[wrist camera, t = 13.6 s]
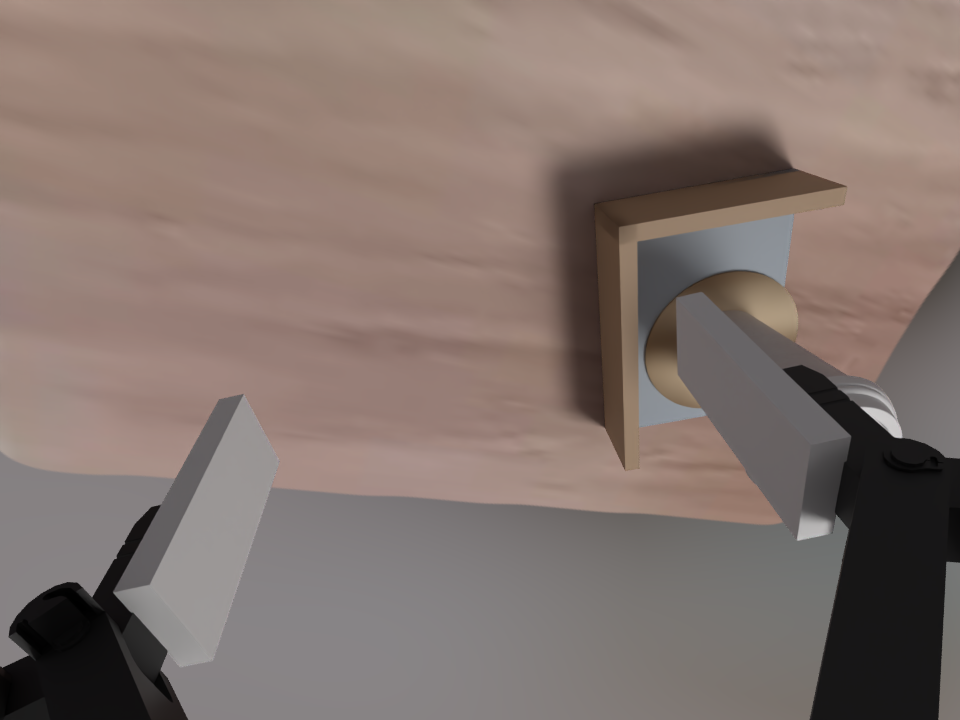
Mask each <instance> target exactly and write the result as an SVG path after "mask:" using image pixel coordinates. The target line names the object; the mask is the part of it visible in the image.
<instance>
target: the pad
mask: <svg viewBox="0 0 960 720" xmlns="http://www.w3.org/2000/svg"><path fill="white" fill-rule="evenodd" d="M699 292H703V293H704V294H705V295H706V296H707V297H708V298H709V299H710V300H711V301H712V302H713V303H714V304H715V305H716V306H717V307H718V308H719V309H720V310H721V311H727V310H739V311H743V312H746V313H748V314H750V315H752V316H753V317H755V318H757V319H758V320H760V321H761V322H763V323H764V324H766V325H768V326H769V327H771V328H772V329H774V330H776V331H777V332H779V333H780V334H782V335H784V336H785V337H787V338H788V339H790V340H791V341H793V342H795V341H796V336H797V332H798V313H797V309H796V305H795V303H794V301H793V299H792V297H791V295H790V294H789V292H788V291H787V290H786V289H785V288H784V287H783V286H782V285H781V284H779V283H778V282H776V281H775V280H774V279H772V278H770V277H768V276H766V275H763V274H759V273H756V272H749V271H731V272H724V273H720V274H716V275H713V276H710V277H707V278H704V279H702V280H700V281H698V282H696V283H694V284H693V285H691V286H689V287H688V288H686V289H685V290H683V291H682V292H681V293H680V294H678V295H677V296H676V297H681V296H685V295H690V294H694V293H699ZM676 297H675V298H674V299H673V300H672V301H671V302H670V303H668V305H667V306H666V307H665V308H664V309H663V311H662V312H661V313H660V315H659V316H658V318H657V319H656V321H655V322H654V324H653V326H652V328H651V331H650V333H649V336H648V339H647V343H646V348H645V365H646V369H647V373H648V375H649V378H650V380H651V382H652V383H653V385H654V386H655V388H656V389H657V390H658V391H659V392H660V393H661V394H662V395H663V396H664V397H666V398H667V399H668V400H670V401H672V402H674V403H676V404H679V405H681V406H686V407H690V408H701V406H700V405H699V404H698V402H697V401H696V400H695V398H694V397H693V395H692V394H691V393H690V391H689V390H688V388H687V387H686V386H685V384H684V383H683V381H682V380H681V379H680V377H679V376H678V369H677V321H676Z"/></svg>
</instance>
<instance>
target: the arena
mask: <svg viewBox="0 0 960 720" xmlns="http://www.w3.org/2000/svg"><path fill="white" fill-rule="evenodd" d="M846 192H847V186H844V185H841V184H839V183H836V182H833V181H830V180H827V179H824V178H821V177H818V176H815V175H812V174H809V173H806V172H803V171H800V170H797V169H794V168H793V169H788V170H782V171H776V172H771V173H765V174H759V175H754V176H748V177H743V178H737V179H731V180H726V181H720V182H714V183H709V184H703V185H698V186H692V187H686V188H681V189H675V190H669V191H664V192H658V193H653V194H647V195H641V196H636V197H630V198H624V199H619V200H613V201H608V202H602V203H596V204H594V210H595V230H596V251H597V272H598V292H599V313H600V334H601V354H602V375H603V396H604V416H605V429H606V431H607V433H608V435H609V437H610V440H611V442H612V444H613V446H614V448H615V450H616V452H617V454H618V457H619V459H620V461H621V463H622V465H623V467H624V469H625V471H628V470H634V469H639V427H645V426H651V425H656V424H662V423H668V422H673V421H679V420H684V419H690V418H696V417H701V416H707V415H706V413H705V412H704V411H703V409H702V408H690V407H686V406H681V405H679V404H676V403H674V402H672V401H670V400H668V399H667V398H666V397H664V396H663V395H662V394H661V393H660V392H659V391H658V390H657V389H656V388H655V386H654V385H653V383H652V382H651V380H650V378H649V375H648V373H647V369H646V365H645V348H646V343H647V339H648V336H649V333H650V331H651V328H652V326H653V324H654V322H655V321H656V319H657V318H658V316H659V315H660V313H661V312H662V311H663V309H664V308H665V307H666V306H667V305H668V303H670V302H671V301H672V300H673V299H674V298H675V297H676V296H677V295H678V294H680V293H681V292H682V291H683V290H685V289H686V288H688V287H689V286H691V285H693V284H694V283H696V282H698V281H700V280H702V279H704V278H707V277H710V276H713V275H716V274H720V273H724V272H731V271H749V272H756V273H759V274H763V275H766V276H768V277H770V278H772V279H774V280H775V281H776V282H778V283H779V284H781V285H782V286H783V287H784V286H785V279H786V271H787V264H788V257H789V249H790V242H791V234H792V227H793V220H794V214H796V213H801V212H807V211H813V210H818V209H824V208H830V207H835V206H841V205H844V203H845V197H846Z"/></svg>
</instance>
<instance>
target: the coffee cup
mask: <svg viewBox="0 0 960 720" xmlns="http://www.w3.org/2000/svg"><path fill="white" fill-rule="evenodd" d="M722 312H723V313H724V314H725V315H727V316H728V317H729V318H730V319H731V320H732V321H733V322H734V323H735V324H736V325H737V326H738V327H739V328H740V329H741V330H742V331H743V332H744V333H745V334H746V335H747V336H748V337H749V338H750V339H751V340H752V341H753V342H754V343H755V344H756V345H757V346H759V347H760V348H761V349H762V350H763V351H764V352H765V353H766V354H767V355H768V356H769V357H770V358H771V359H772V360H773V361H774V362H775V363H776V364H777V365H778V366H779V367H780V368H781V369H784V368H789V367H794V366H798V365H803V366H806V367H808V368H810V369H812V370H815V371H817V372H819V373H821V374H823V375H824V376H825V377H827V378H828V379H829V380H830V381H831V382H832V383H833V384H835V385H836V386H837V387H838V390H841V391H842V392H844V393H845V394H846V395H847V396H848V397H849V399H850V401H852V400H853V401H854V402H855V403H856V404H857V405H858V406H860V407H861V408H862V409H863V410H864V411H865V412H866V413H867V414H869V415H870V416H871V417H872V418H873V419H874V420H875V421H877V422H878V423H879V424H880V425H881V426H882V427H883V428H884V429H886V430H887V431H888V432H889V433H890V434H891V435H892V436H894V437H895V438H902V431H901V428H900V425H899V423H898V421H897V415H896V412H895V409H894V407H893V404H892V402H891V401H890V399H889V398H888V396H887V395H886V393H885V392H884V391H883V390H882V389H881V388H880V387H879V386H878V385H877V384H875V383H873V382H872V381H869V380H867V379H864V378H861V377H856V376H848V375H846V374H844V373H843V372H841V371H839V370H838V369H836V368H835V367H833V366H831V365H830V364H828V363H827V362H825V361H823V360H822V359H820V358H819V357H817V356H815V355H814V354H812V353H811V352H809V351H807V350H806V349H804V348H803V347H801V346H799V345H798V344H796V343H795V342H793V341H791V340H790V339H788V338H787V337H785V336H784V335H782V334H780V333H779V332H777V331H776V330H774V329H772V328H771V327H769V326H768V325H766V324H764V323H763V322H761V321H760V320H758V319H757V318H755V317H753V316H752V315H750V314H748V313H746V312H743V311H739V310H727V311H722ZM745 470H746V469H745ZM746 473H747V475H748V476H749V478H750V479H751V480H752V481H753V482H754V480H753V479H752V477H751V476H750V475H749V473H748V472H747V471H746ZM754 483H755V482H754ZM755 484H756V483H755ZM756 485H757V484H756Z"/></svg>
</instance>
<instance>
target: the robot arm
mask: <svg viewBox="0 0 960 720" xmlns="http://www.w3.org/2000/svg"><path fill="white" fill-rule="evenodd" d="M676 321H677V369H678V376H679V377H680V379H681V380H682V381H683V383H684V384H685V386H686V387H687V388H688V390H689V391H690V393H691V394H692V395H693V397H694V398H695V400H696V401H697V402H698V404H699V405H700V406H701V408H702V409H703V411H704V412H705V413H706V415H707V416H708V418H709V419H710V420H711V422H712V423H713V425H714V426H715V427H716V429H717V430H718V432H719V433H720V434H721V436H722V437H723V439H724V440H725V441H726V443H727V444H728V445H729V447H730V448H731V450H732V451H733V452H734V454H735V455H736V457H737V458H738V459H739V461H740V462H741V464H742V465H743V466H744V468H745V469H746V471H747V472H748V473H749V475H750V476H751V477H752V479H753V480H754V482H755V483H756V484H757V486H758V487H759V489H760V490H761V491H762V493H763V494H764V496H765V497H766V498H767V500H768V501H769V503H770V504H771V505H772V507H773V508H774V509H775V511H776V512H777V514H778V515H779V516H780V518H781V519H782V521H783V522H784V523H785V525H786V526H787V528H788V529H789V530H790V532H791V533H792V535H793V536H794V537H795V539H796V540H797V541H798V540H803V539H808V538H813V537H818V536H822V535H827V534H832V533H833V528H834V523H835V518H836V514H837V516H838V517H839V518H840V519H841V520H842V521H843V523H844V524H845V525H846V526H847V527H848V528H849V532H848V537H847V541H846V546H845V550H844V555H843V559H842V565H841V571H840V575H839V580H838V585H837V590H836V595H835V600H834V604H833V609H832V614H831V619H830V624H829V628H828V633H827V638H826V643H825V648H824V653H823V658H822V662H821V667H820V672H819V677H818V682H817V687H816V692H815V697H814V701H813V706H812V711H811V716H810V720H938V713H939V695H940V675H941V656H942V636H943V617H944V616H943V615H944V597H945V578H946V562H959V563H960V459H956V458H945V457H944V456H943V455H942V454H941V453H940V452H939V451H937V450H936V449H934V448H932V447H930V446H928V445H927V444H925V443H921V442H918V441H915V440H911V439H905V438H895V437H894V436H892V435H891V434H890V433H889V432H888V431H887V430H886V429H884V428H883V427H882V426H881V425H880V424H879V423H878V422H877V421H875V420H874V419H873V418H872V417H871V416H870V415H869V414H867V413H866V412H865V411H864V410H863V409H862V408H861V407H860V406H858V405H857V404H856V403H855V402H854V401H853V400H852V401H850V399H849V397H848V396H847V395H846V394H845V393H844V392H842V391H841V390H838V387H837V386H836V385H835V384H833V383H832V382H831V381H830V380H829V379H828V378H827V377H825V376H824V375H823V374H821V373H819V372H817V371H815V370H812V369H810V368H808V367H806V366H803V365H798V366H794V367H789V368H784V369H781V368H780V367H779V366H778V365H777V364H776V363H775V362H774V361H773V360H772V359H771V358H770V357H769V356H768V355H767V354H766V353H765V352H764V351H763V350H762V349H761V348H760V347H759V346H757V345H756V344H755V343H754V342H753V341H752V340H751V339H750V338H749V337H748V336H747V335H746V334H745V333H744V332H743V331H742V330H741V329H740V328H739V327H738V326H737V325H736V324H735V323H734V322H733V321H732V320H731V319H730V318H729V317H728V316H727V315H725V314H724V313H723V312H722V311H721V310H720V309H719V308H718V307H717V306H716V305H715V304H714V303H713V302H712V301H711V300H710V299H709V298H708V297H707V296H706V295H705V294H704V293H703V292H699V293H694V294H690V295H685V296H681V297H676ZM279 462H280V461H279V459H278V457H277V455H276V453H275V451H274V450H273V448H272V446H271V444H270V442H269V440H268V438H267V436H266V435H265V433H264V431H263V429H262V427H261V425H260V423H259V422H258V420H257V418H256V416H255V414H254V412H253V410H252V408H251V407H250V405H249V403H248V401H247V399H246V397H245V395H244V394H242V395H237V396H233V397H228V398H224V399H219V401H218V403H217V405H216V406H215V408H214V410H213V412H212V414H211V415H210V417H209V419H208V421H207V423H206V425H205V426H204V428H203V430H202V432H201V434H200V435H199V437H198V439H197V441H196V443H195V444H194V446H193V448H192V450H191V452H190V454H189V455H188V457H187V459H186V461H185V463H184V464H183V466H182V468H181V470H180V472H179V474H178V475H177V477H176V479H175V481H174V483H173V484H172V486H171V488H170V490H169V492H168V493H167V495H166V497H165V499H164V501H163V503H162V504H161V505H158V506H154V507H151V508H150V509H149V510H148V511H147V512H146V513H145V514H144V515H143V517H141V518H140V519H139V521H137V522H136V524H135V525H134V527H133V528H132V530H131V532H130V533H129V535H128V537H127V539H126V540H125V545H123V546H122V547H121V549H120V551H119V553H118V554H117V559H114V561H113V563H112V564H111V566H110V568H109V569H108V571H107V573H106V575H105V576H104V578H103V580H102V581H101V583H100V585H99V587H98V588H97V590H96V592H95V594H94V595H93V597H91V596H90V595H89V594H88V593H87V592H86V591H85V590H84V589H83V587H81V586H80V585H79V584H78V583H73V582H67V583H63V584H60V585H57V586H54V587H52V588H51V589H49V590H47V591H45V592H43V593H41V594H40V595H39V596H37V597H36V598H35V599H33V600H32V601H31V602H30V603H28V604H27V605H26V606H25V607H24V609H23V610H22V611H21V612H20V613H19V614H18V615H17V616H16V618H15V620H14V621H13V623H12V625H11V626H10V631H9V638H10V639H12V640H13V641H14V642H15V643H16V644H17V645H18V646H19V647H21V648H22V649H23V650H24V651H25V652H26V653H28V654H29V656H27V657H24V658H23V659H20V660H18V661H16V662H14V663H12V664H10V665H7V666H5V667H3V668H2V667H0V720H188V719H187V717H186V714H185V713H184V710H183V708H182V706H181V704H180V702H179V700H178V698H177V696H176V694H175V692H174V690H173V688H172V686H171V684H170V682H169V680H168V678H167V677H166V676H165V675H164V674H163V672H162V671H161V670H160V669H161V667H162V664H163V662H164V659H165V657H166V655H167V653H168V654H169V655H170V656H171V657H172V659H173V660H174V661H175V662H176V663H177V664H178V665H179V666H180V667H185V666H189V665H194V664H199V663H204V662H209V661H213V659H214V656H215V653H216V650H217V647H218V644H219V641H220V638H221V635H222V632H223V629H224V626H225V623H226V620H227V617H228V614H229V611H230V608H231V605H232V603H233V600H234V596H235V593H236V591H237V588H238V584H239V582H240V578H241V576H242V573H243V570H244V566H245V563H246V561H247V558H248V555H249V552H250V549H251V546H252V543H253V540H254V537H255V534H256V531H257V528H258V525H259V521H260V519H261V516H262V512H263V510H264V507H265V504H266V501H267V498H268V495H269V492H270V489H271V486H272V483H273V480H274V477H275V474H276V471H277V468H278V465H279Z"/></svg>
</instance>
